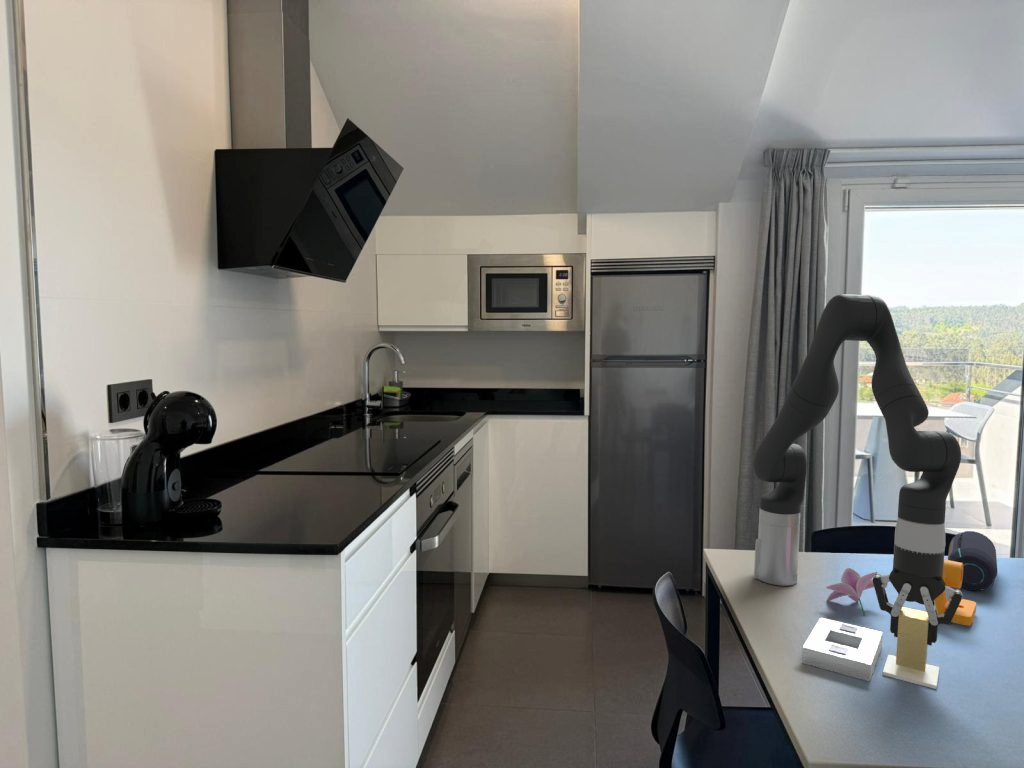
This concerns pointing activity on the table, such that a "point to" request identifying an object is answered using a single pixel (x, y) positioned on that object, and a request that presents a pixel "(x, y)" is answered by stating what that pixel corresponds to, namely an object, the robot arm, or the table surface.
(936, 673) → the pad
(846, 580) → the lily
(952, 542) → the portable speaker
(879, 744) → the table surface
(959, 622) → the bracket
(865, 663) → the socket block
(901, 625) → the brass peg
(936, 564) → the robot arm
